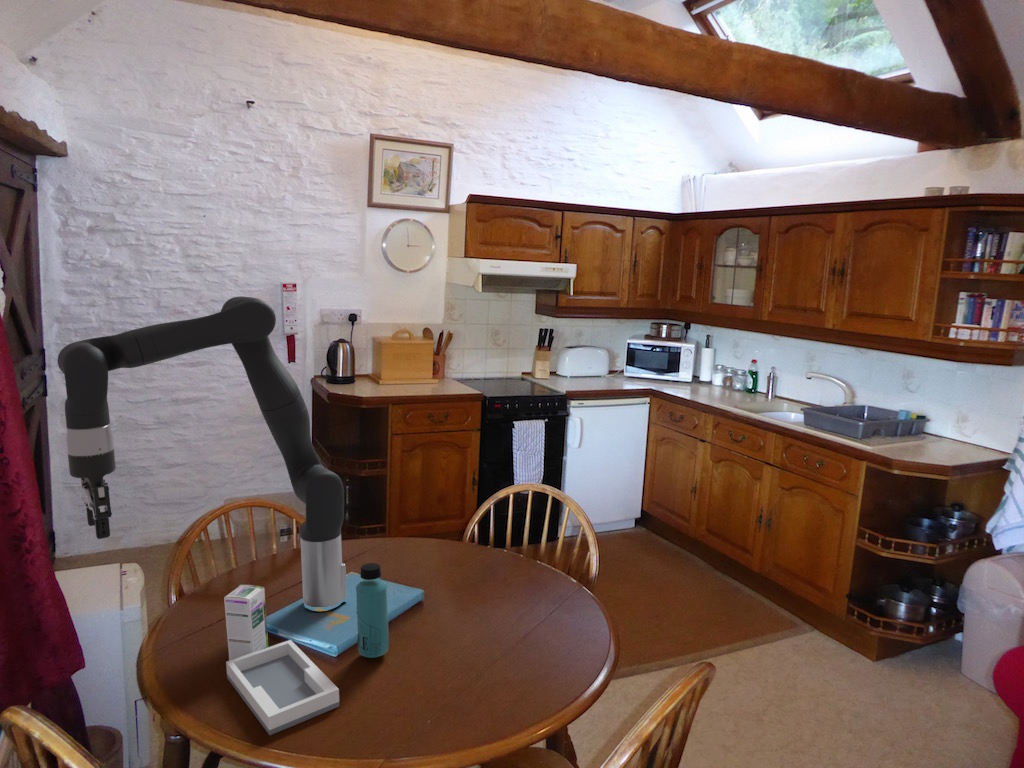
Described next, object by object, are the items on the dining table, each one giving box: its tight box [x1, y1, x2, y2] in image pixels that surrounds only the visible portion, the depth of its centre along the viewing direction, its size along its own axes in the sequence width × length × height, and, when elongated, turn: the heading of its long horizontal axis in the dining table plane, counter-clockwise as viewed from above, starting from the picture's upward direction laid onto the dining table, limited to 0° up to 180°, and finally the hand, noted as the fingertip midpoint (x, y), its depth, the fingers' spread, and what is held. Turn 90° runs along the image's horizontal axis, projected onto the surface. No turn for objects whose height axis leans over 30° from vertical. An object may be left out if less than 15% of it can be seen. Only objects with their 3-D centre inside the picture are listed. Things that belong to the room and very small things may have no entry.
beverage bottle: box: [355, 562, 390, 659], centre depth 146 cm, size 6×7×20 cm
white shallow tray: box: [225, 639, 340, 736], centre depth 135 cm, size 13×22×4 cm, turn 40°
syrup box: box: [223, 584, 270, 661], centre depth 146 cm, size 6×6×14 cm
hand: (98, 530), depth 137 cm, fingers open, 8 cm apart
